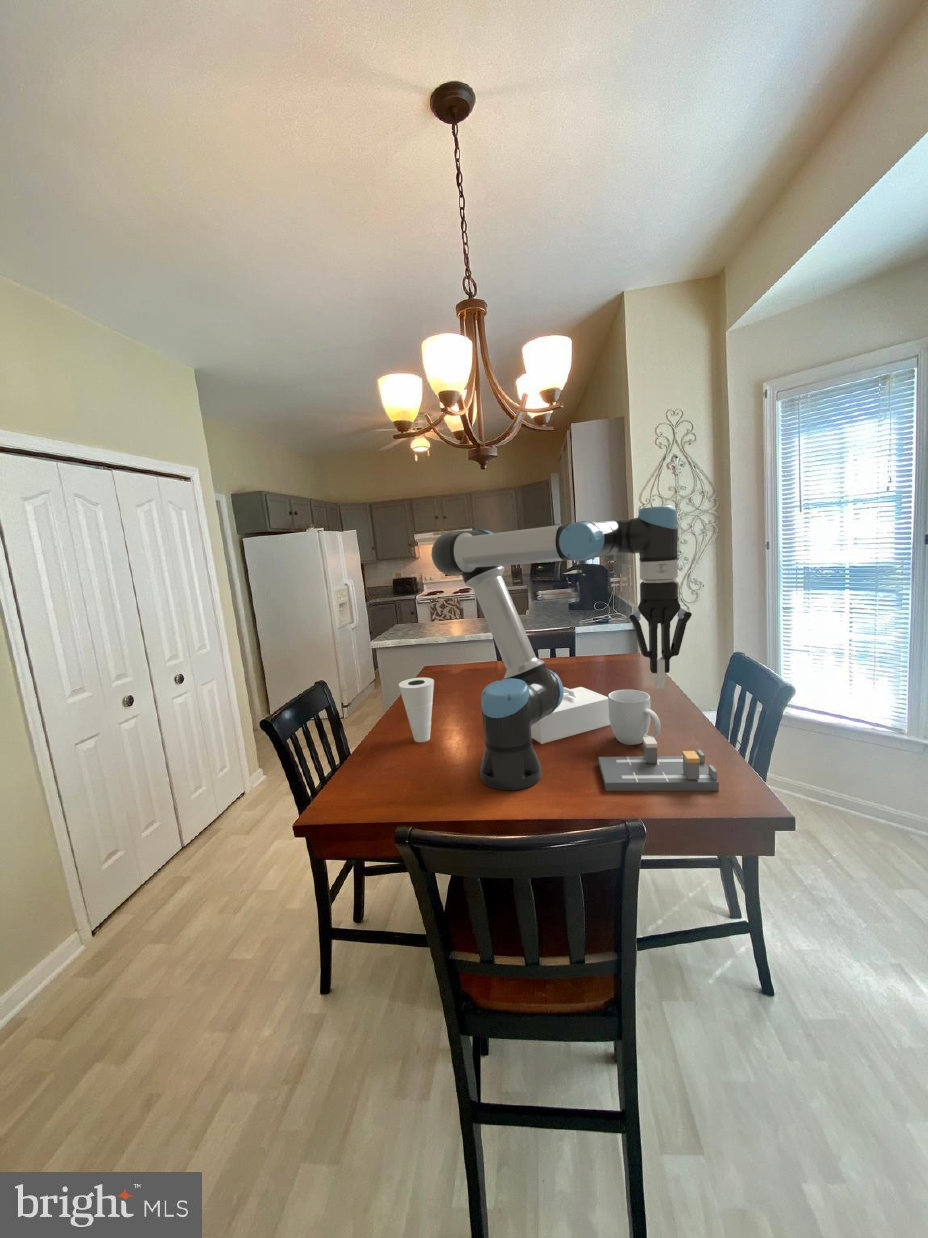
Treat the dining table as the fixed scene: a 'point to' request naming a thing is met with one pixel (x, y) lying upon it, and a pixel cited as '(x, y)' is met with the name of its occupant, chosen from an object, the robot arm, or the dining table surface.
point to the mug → (631, 716)
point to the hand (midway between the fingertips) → (659, 686)
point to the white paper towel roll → (418, 705)
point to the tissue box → (573, 715)
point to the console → (655, 774)
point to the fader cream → (650, 749)
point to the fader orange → (691, 764)
